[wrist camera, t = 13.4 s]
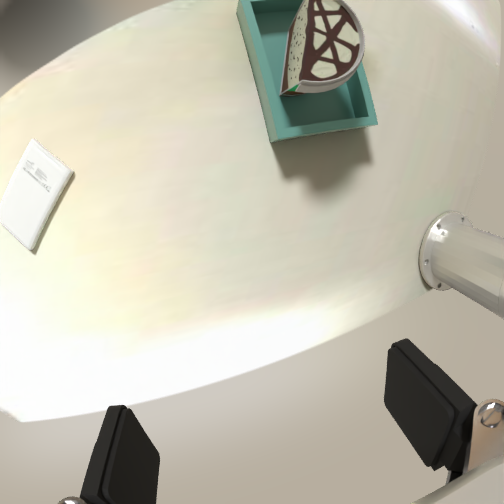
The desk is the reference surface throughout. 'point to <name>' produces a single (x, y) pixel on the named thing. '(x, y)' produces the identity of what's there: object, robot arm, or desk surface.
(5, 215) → the external hard drive
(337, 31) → the food container
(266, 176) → the desk surface
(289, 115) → the bin
